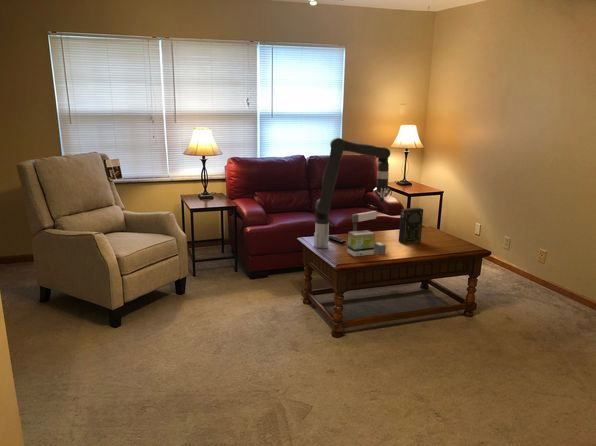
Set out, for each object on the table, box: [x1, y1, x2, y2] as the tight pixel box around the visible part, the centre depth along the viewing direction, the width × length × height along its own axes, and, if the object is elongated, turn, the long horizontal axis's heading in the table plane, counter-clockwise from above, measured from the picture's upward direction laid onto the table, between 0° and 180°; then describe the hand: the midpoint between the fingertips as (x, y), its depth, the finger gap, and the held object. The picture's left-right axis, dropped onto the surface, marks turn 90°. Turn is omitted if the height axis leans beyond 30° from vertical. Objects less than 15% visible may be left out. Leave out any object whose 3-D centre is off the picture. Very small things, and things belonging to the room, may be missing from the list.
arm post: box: [352, 222, 358, 231], centre depth 315 cm, size 6×6×18 cm
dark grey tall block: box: [398, 207, 424, 245], centre depth 330 cm, size 16×9×25 cm, turn 113°
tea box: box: [346, 229, 376, 258], centre depth 305 cm, size 15×10×15 cm, turn 114°
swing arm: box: [351, 210, 377, 224], centre depth 317 cm, size 4×21×5 cm, turn 127°
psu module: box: [374, 241, 387, 255], centre depth 309 cm, size 5×8×6 cm, turn 17°
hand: (381, 202), depth 314 cm, fingers closed
